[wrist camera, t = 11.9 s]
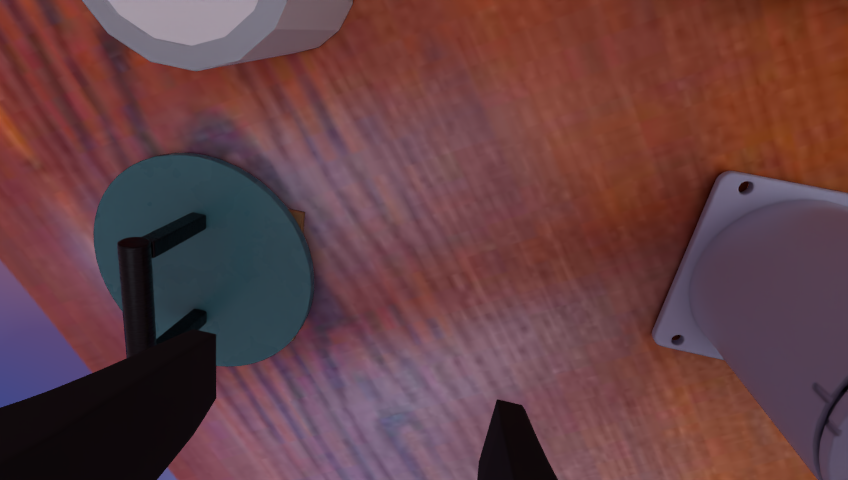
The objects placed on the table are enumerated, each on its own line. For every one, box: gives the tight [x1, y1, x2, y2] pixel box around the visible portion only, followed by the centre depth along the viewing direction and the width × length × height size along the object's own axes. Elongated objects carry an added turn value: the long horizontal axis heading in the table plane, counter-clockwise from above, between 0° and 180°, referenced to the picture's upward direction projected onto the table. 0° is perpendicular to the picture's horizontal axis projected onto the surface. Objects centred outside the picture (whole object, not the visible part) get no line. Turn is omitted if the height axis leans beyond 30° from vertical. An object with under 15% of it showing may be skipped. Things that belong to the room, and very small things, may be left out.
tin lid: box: [94, 153, 314, 367], centre depth 20 cm, size 11×11×6 cm
